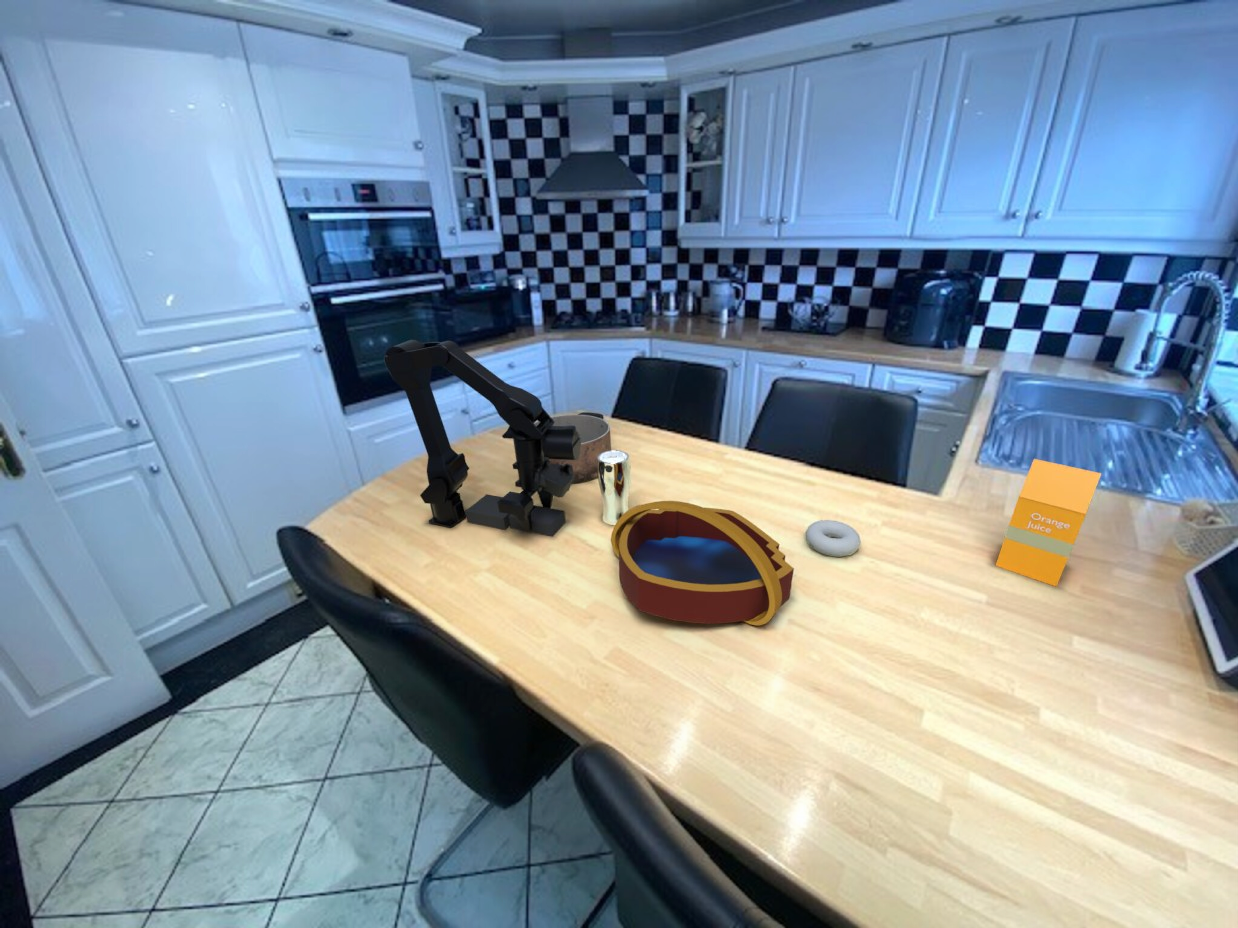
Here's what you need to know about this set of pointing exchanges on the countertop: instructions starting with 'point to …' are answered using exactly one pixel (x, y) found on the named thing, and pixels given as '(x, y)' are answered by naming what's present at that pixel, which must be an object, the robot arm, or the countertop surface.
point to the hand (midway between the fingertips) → (538, 522)
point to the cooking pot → (585, 443)
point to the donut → (841, 546)
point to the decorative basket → (699, 564)
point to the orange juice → (1047, 520)
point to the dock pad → (487, 513)
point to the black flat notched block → (542, 521)
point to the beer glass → (614, 484)
